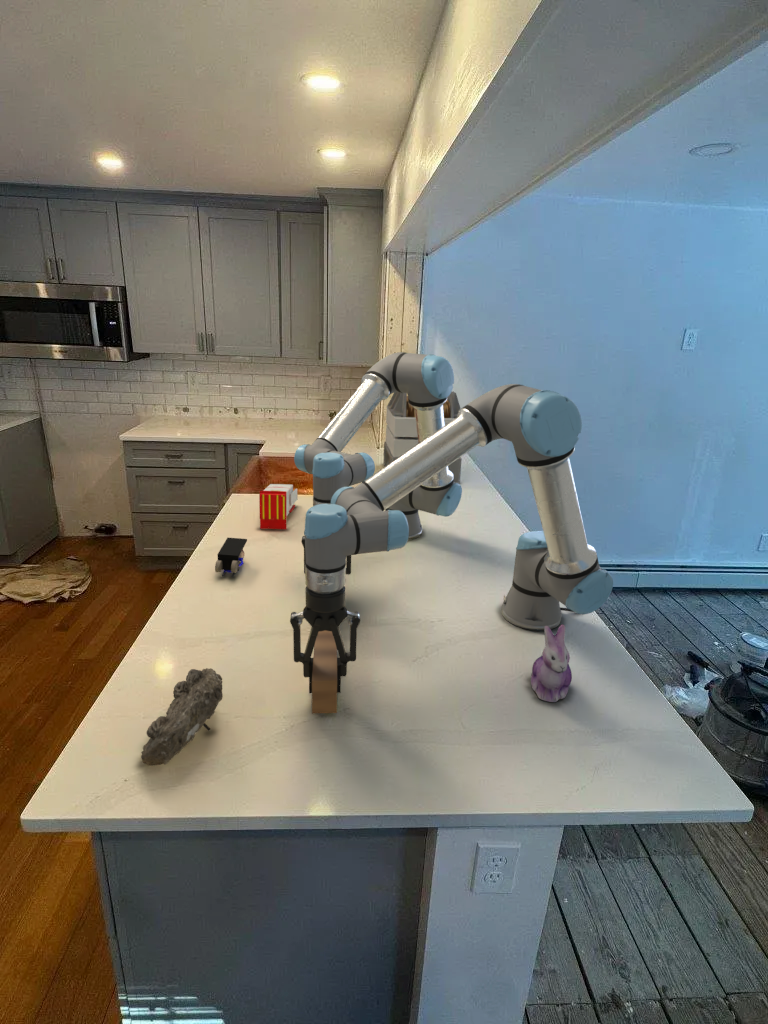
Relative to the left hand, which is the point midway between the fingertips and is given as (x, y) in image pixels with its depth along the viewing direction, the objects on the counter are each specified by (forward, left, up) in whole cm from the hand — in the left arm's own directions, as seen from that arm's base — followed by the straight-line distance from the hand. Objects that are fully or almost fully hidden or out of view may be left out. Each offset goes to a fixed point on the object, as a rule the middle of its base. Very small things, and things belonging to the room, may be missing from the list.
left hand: (327, 596), depth 150 cm
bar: (+16, -11, -1) cm, 19 cm away
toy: (-65, +23, -2) cm, 69 cm away
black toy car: (-33, -11, -2) cm, 35 cm away
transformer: (-78, +110, -2) cm, 135 cm away
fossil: (+23, -48, -2) cm, 53 cm away
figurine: (+58, +16, -2) cm, 61 cm away
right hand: (+31, -23, 0) cm, 38 cm away
